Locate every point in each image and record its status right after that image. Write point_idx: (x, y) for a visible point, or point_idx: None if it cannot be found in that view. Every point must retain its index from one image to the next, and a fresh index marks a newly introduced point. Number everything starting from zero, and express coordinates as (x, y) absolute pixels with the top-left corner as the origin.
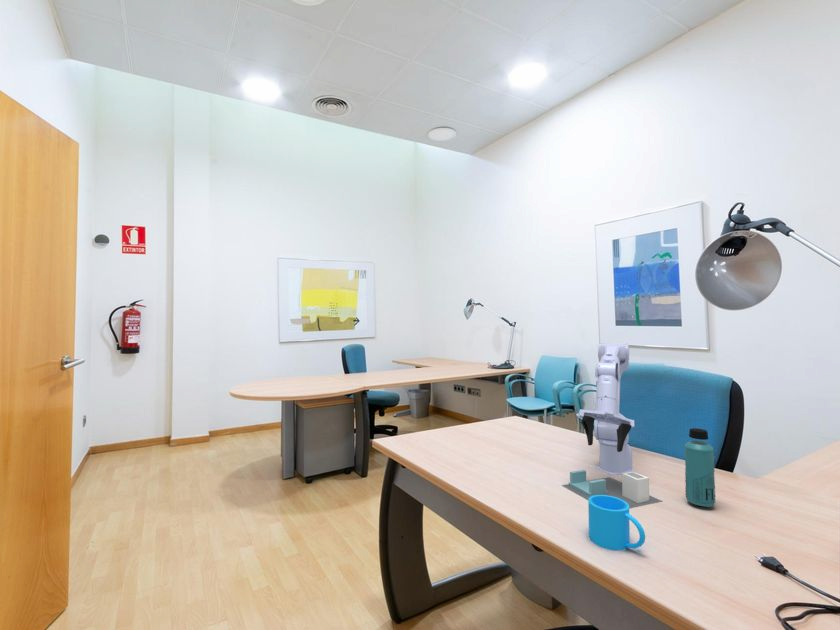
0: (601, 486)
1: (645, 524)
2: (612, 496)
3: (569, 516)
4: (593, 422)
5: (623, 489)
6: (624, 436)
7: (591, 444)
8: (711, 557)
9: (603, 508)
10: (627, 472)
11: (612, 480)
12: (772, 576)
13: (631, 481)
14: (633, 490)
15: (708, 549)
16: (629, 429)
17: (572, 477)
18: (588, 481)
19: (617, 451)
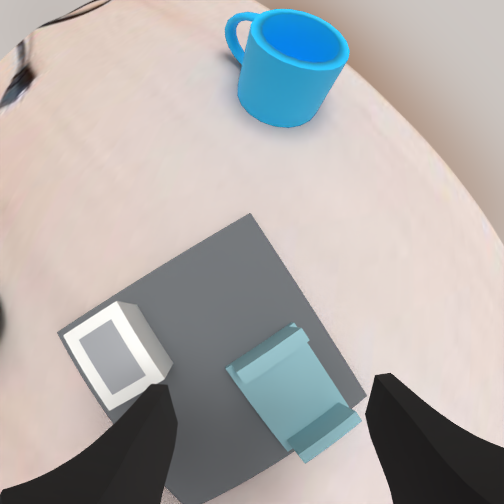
0: (253, 355)
1: (163, 172)
2: (284, 62)
3: (356, 188)
4: (472, 479)
5: (168, 361)
6: (97, 453)
7: (374, 390)
8: (97, 73)
9: (316, 18)
10: (137, 394)
11: (182, 486)
12: (46, 55)
13: (138, 331)
14: (139, 321)
15: (82, 96)
16: (23, 487)
17: (347, 407)
18: (279, 439)
19: (176, 421)
